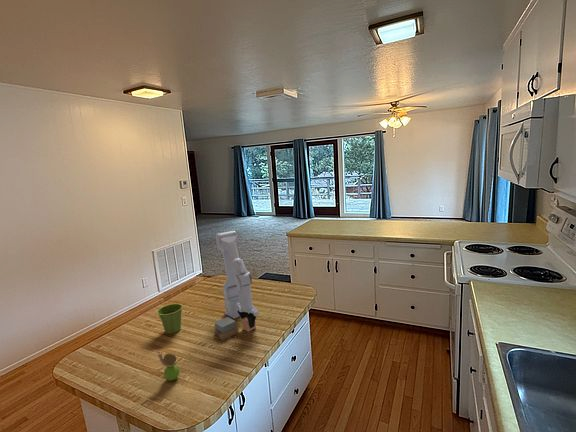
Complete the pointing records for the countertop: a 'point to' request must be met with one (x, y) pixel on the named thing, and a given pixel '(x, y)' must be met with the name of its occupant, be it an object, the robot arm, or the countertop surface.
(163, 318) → the plant pot
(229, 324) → the top slab
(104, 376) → the countertop surface
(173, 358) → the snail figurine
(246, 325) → the terracotta block
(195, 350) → the countertop surface
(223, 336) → the base slab
